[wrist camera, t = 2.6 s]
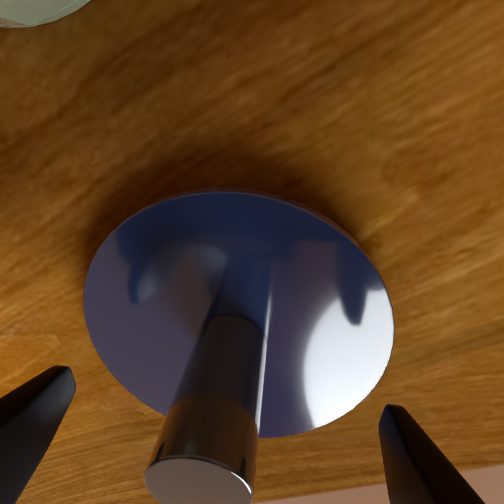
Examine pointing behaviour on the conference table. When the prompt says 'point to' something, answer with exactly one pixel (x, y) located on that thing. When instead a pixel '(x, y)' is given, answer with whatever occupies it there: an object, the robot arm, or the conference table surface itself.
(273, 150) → the conference table surface
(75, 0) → the pot
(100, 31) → the conference table surface
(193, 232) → the lid
